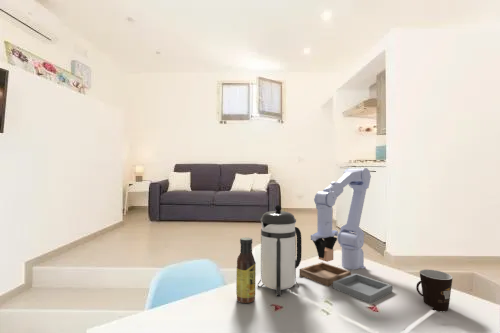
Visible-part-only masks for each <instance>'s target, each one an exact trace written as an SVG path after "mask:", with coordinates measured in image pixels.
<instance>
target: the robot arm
mask: <svg viewBox="0 0 500 333" xmlns="http://www.w3.org/2000/svg"><path fill="white" fill-rule="evenodd" d="M371 177H372V176H371V172H370V170H369V169H368V167H363V168H360V167H359V168H357V167H355V168H351V167H349V168H348V167H347V168H346V169H345V170H343V175H342V176H341V177H340V178H339V179H338V180H337V181H331V182H330V184H329V185H327V187H325V188H324V189H323V190H322V191H321V190H320V191H317V192H316V193H315V195H314V198H313V200H314V203H315V208H316V211H317V213H316V214H317V215H316V216H317V225H316V226H317V227H316V228H317V231H316V232H315V233H312V234H310V240H311V241H312V242H313V244H314V246H315V249H316V252H317V257H318V258H319V257H321V258H324V253H325V247H326V248H330V249H333V250H334V246H335V244H336V242H338V244H339V247H340V248H341V264H340V265H338V267H340V266H341V267H343V269H346V270H358V269H366V266H365V264H364V260H365V258H364V257H365V255H364V251H363V249H362V248H363V246H364V244H365V236H364V235H365V232H364V231H363V229H361V227H360V223H361V218H362V214H363V208H364V204H365V199H366V193H367V190H368V189H369V187H370V182H371ZM347 186H349V188H351V189H352V190H353V191H352V197H351V203H350V205H349V210H348V215H347V216H348V217H347V221H346V223H345V224H344V225H342V226H340V230H339V231H338V230H334V229H333V206H334V205H335V204H336V201H337V199H338V197H339V196H340V195H342V193H343V192H344V188H345V187H347Z"/></svg>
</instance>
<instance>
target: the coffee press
mask: <svg viewBox="0 0 500 333" xmlns="http://www.w3.org/2000/svg"><path fill="white" fill-rule="evenodd" d="M274 208H275V210H271V211H266V212H265V213H264V214H262V216H261V218H260V223H261V229H260V236H261V279H260V280H259V281H258V283H257V288H258V289H261V288H263V286H265V287H266V288H268V289H271V290H276V297H281V295H282V293H281V291H282V290H288V289H291V288H292V287H294V288H295V285H297V286H298V287H300V286H299V283H298V282H297V279H296V278H297V275H296V274H297V271H296V270H297V268H299V266H300V263H301V261H302V232H301V230H300V228H299V227H296V223H297V218H295V215H294V214H293V213H291V212H288V211H285V210H284V211H282V206H281V205H280V204H276V205H275V206H274ZM260 283H262V284H261V285H260Z"/></svg>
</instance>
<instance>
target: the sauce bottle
mask: <svg viewBox="0 0 500 333" xmlns="http://www.w3.org/2000/svg"><path fill="white" fill-rule="evenodd" d="M239 243H240V244H239V245H240V252H239V255H238V256H237V259H236V285H235V286H236V289H235V292H236V300H237V302H239V303H241V304H250V303H253V302H254V301H255V300H256V263H257V262H256V260H255V257H254V254H253V248H252V246H253V238H251V237H240V240H239Z"/></svg>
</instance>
